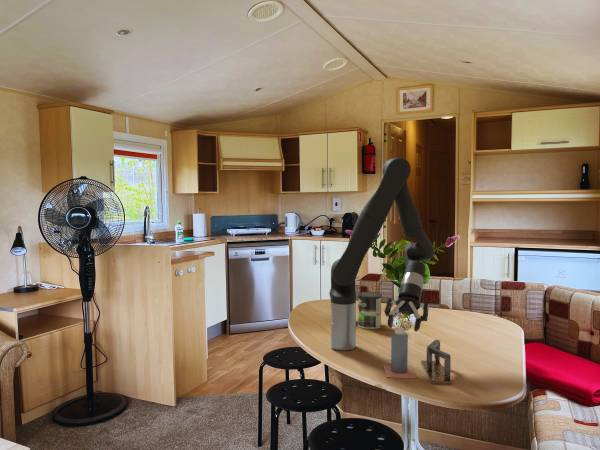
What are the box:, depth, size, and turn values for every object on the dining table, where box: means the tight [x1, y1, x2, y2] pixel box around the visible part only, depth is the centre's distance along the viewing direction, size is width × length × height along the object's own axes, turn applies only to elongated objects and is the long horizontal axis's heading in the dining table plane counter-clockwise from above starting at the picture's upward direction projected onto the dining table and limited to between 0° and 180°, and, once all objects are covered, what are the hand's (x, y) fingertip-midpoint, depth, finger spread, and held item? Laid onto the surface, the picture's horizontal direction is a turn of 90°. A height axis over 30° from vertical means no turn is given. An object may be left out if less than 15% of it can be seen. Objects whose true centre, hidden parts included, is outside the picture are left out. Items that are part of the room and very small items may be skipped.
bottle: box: [390, 326, 409, 374], centre depth 151 cm, size 5×5×14 cm
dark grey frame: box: [420, 339, 453, 385], centre depth 150 cm, size 6×17×9 cm, turn 176°
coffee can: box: [357, 291, 383, 330], centre depth 203 cm, size 10×10×14 cm
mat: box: [383, 364, 417, 379], centre depth 152 cm, size 9×10×1 cm
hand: (402, 328), depth 155 cm, fingers open, 8 cm apart
